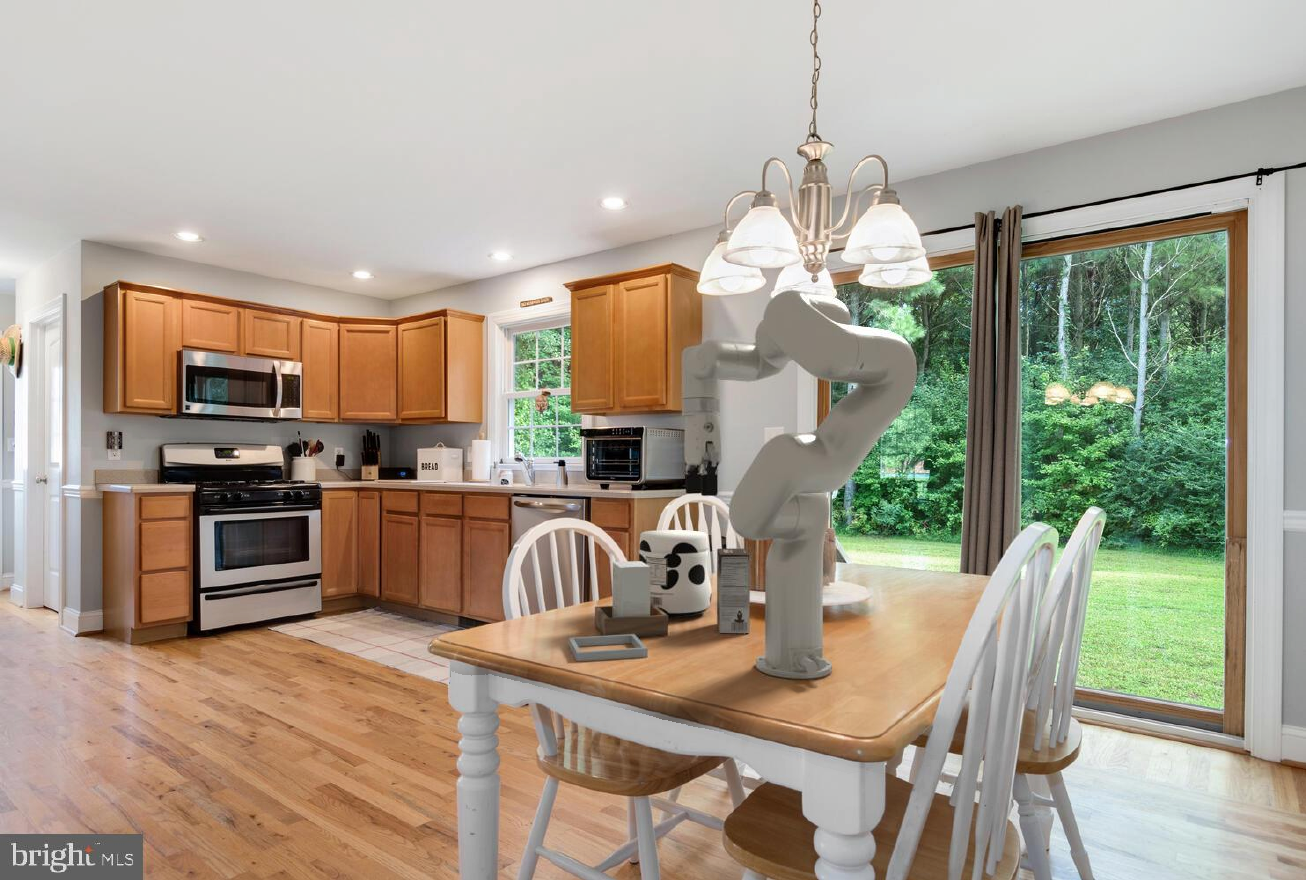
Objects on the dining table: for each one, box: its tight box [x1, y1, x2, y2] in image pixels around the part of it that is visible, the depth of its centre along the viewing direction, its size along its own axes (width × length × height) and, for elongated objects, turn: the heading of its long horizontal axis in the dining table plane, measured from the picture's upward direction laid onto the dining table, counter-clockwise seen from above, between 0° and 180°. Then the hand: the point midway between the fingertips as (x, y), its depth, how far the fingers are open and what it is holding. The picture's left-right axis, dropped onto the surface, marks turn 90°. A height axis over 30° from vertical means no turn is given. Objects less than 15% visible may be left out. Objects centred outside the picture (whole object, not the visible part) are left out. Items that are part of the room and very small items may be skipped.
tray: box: [568, 634, 649, 662], centre depth 135 cm, size 11×13×2 cm
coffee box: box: [716, 548, 751, 635], centre depth 153 cm, size 9×6×16 cm
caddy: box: [594, 604, 669, 639], centre depth 151 cm, size 12×13×4 cm
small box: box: [611, 560, 650, 618], centre depth 151 cm, size 8×6×13 cm
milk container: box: [638, 529, 713, 618], centre depth 168 cm, size 17×17×18 cm
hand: (701, 494), depth 148 cm, fingers open, 9 cm apart
